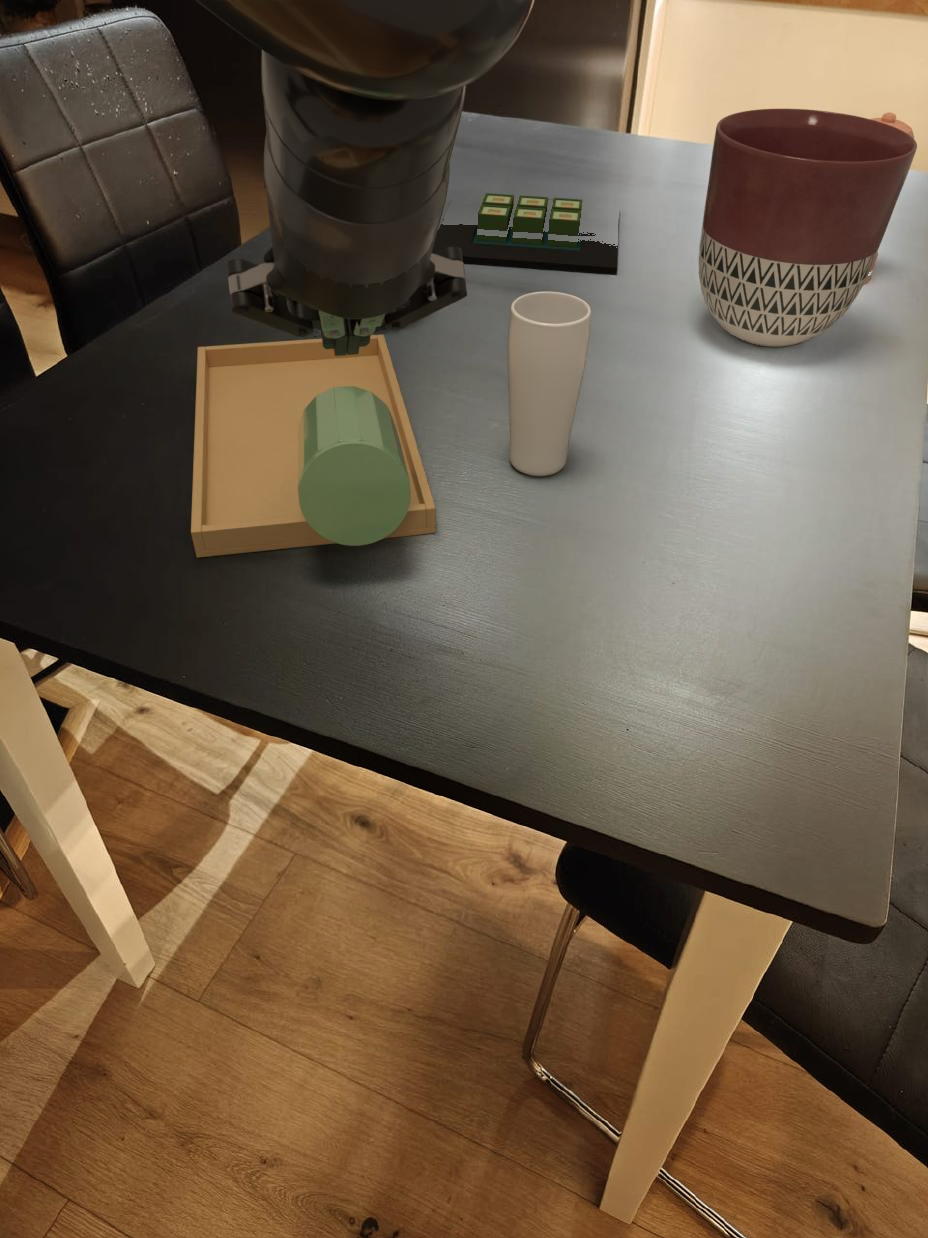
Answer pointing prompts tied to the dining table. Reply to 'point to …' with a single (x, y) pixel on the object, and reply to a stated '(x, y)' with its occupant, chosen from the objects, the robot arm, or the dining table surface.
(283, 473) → the tray
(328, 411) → the green cup
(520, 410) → the drinking glass
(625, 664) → the dining table surface
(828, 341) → the dining table surface
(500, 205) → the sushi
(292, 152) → the robot arm
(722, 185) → the planter
